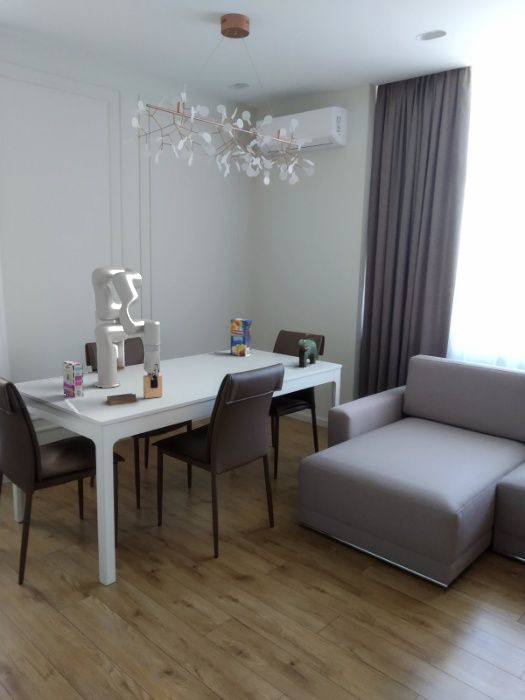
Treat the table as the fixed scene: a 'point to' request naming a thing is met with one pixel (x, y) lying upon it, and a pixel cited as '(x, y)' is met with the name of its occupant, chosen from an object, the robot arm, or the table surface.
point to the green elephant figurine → (307, 351)
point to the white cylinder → (117, 344)
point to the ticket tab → (149, 391)
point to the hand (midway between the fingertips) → (152, 386)
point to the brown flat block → (121, 399)
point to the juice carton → (241, 337)
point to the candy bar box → (73, 378)
